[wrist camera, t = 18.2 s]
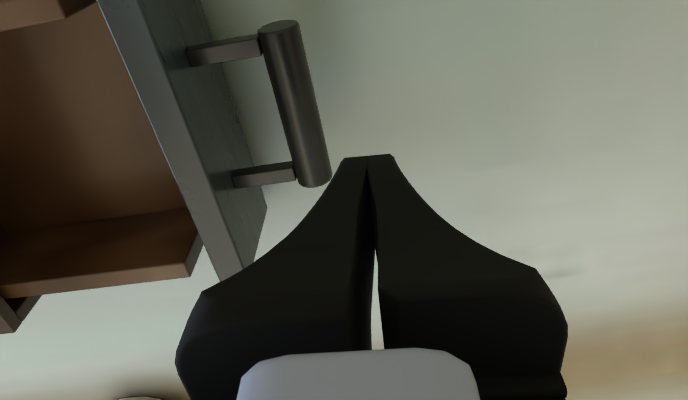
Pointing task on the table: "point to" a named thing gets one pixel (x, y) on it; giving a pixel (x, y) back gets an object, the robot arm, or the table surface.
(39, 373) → the table surface
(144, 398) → the white lumpy piece
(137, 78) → the drawer
